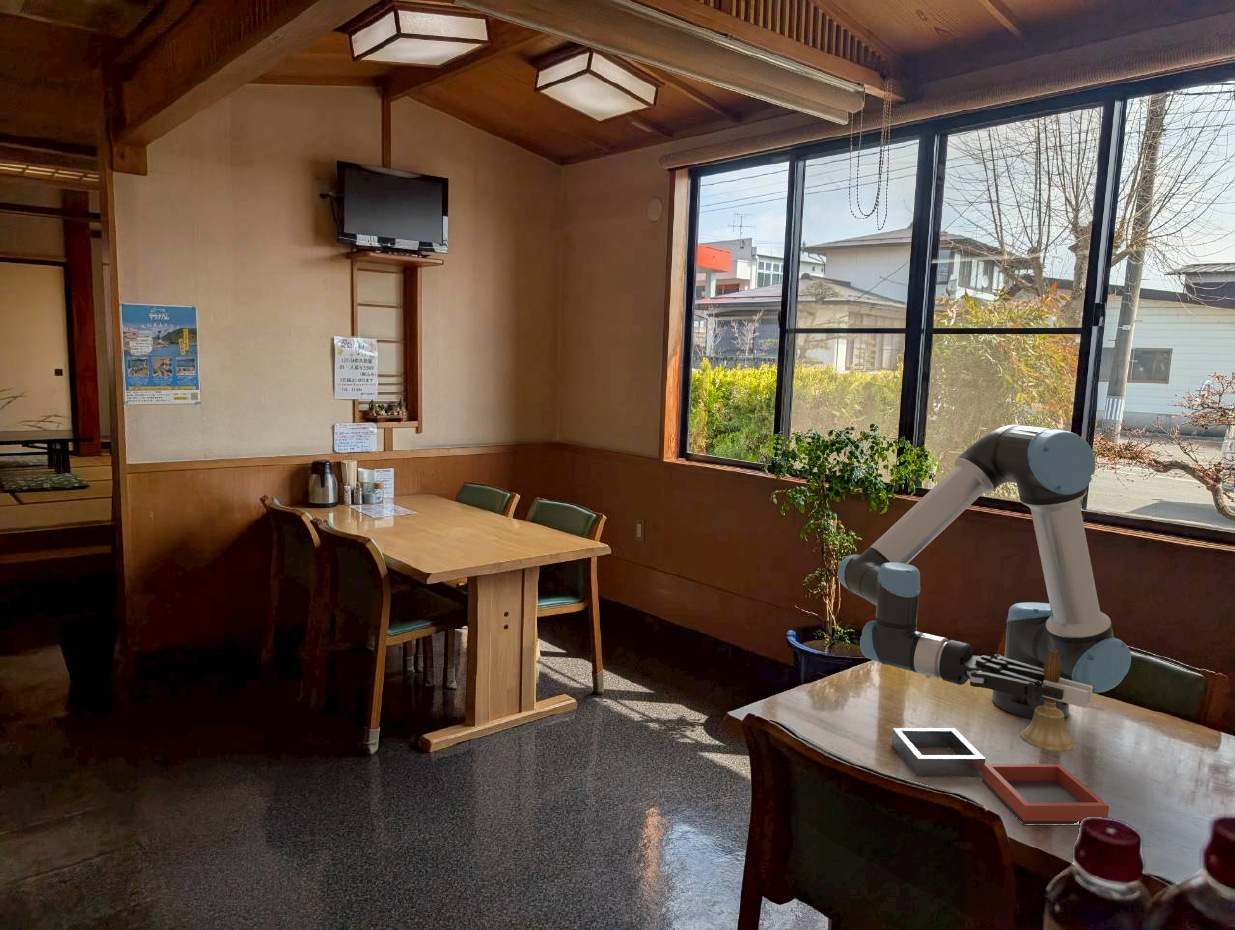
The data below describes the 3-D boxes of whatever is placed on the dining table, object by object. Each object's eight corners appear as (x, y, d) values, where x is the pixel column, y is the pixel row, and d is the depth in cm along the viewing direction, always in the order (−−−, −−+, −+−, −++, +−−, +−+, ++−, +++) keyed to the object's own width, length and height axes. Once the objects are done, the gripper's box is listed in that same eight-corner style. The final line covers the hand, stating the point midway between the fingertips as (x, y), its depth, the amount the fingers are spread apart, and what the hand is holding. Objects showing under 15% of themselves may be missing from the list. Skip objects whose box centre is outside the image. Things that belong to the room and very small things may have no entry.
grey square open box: (953, 745, 162) (954, 728, 162) (983, 776, 150) (985, 758, 149) (891, 745, 162) (892, 728, 161) (917, 776, 149) (918, 758, 149)
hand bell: (1029, 749, 137) (1037, 656, 135) (1013, 728, 145) (1021, 640, 143) (1082, 754, 135) (1092, 661, 133) (1064, 732, 144) (1072, 644, 142)
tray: (1058, 781, 149) (1059, 764, 148) (1107, 825, 135) (1109, 805, 134) (982, 781, 148) (983, 763, 148) (1023, 825, 134) (1025, 805, 134)
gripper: (959, 668, 157) (1098, 705, 141) (926, 690, 146) (1074, 733, 130) (962, 630, 156) (1102, 663, 140) (930, 649, 145) (1078, 687, 129)
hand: (1088, 696), depth 135 cm, fingers closed on hand bell, 2 cm apart
